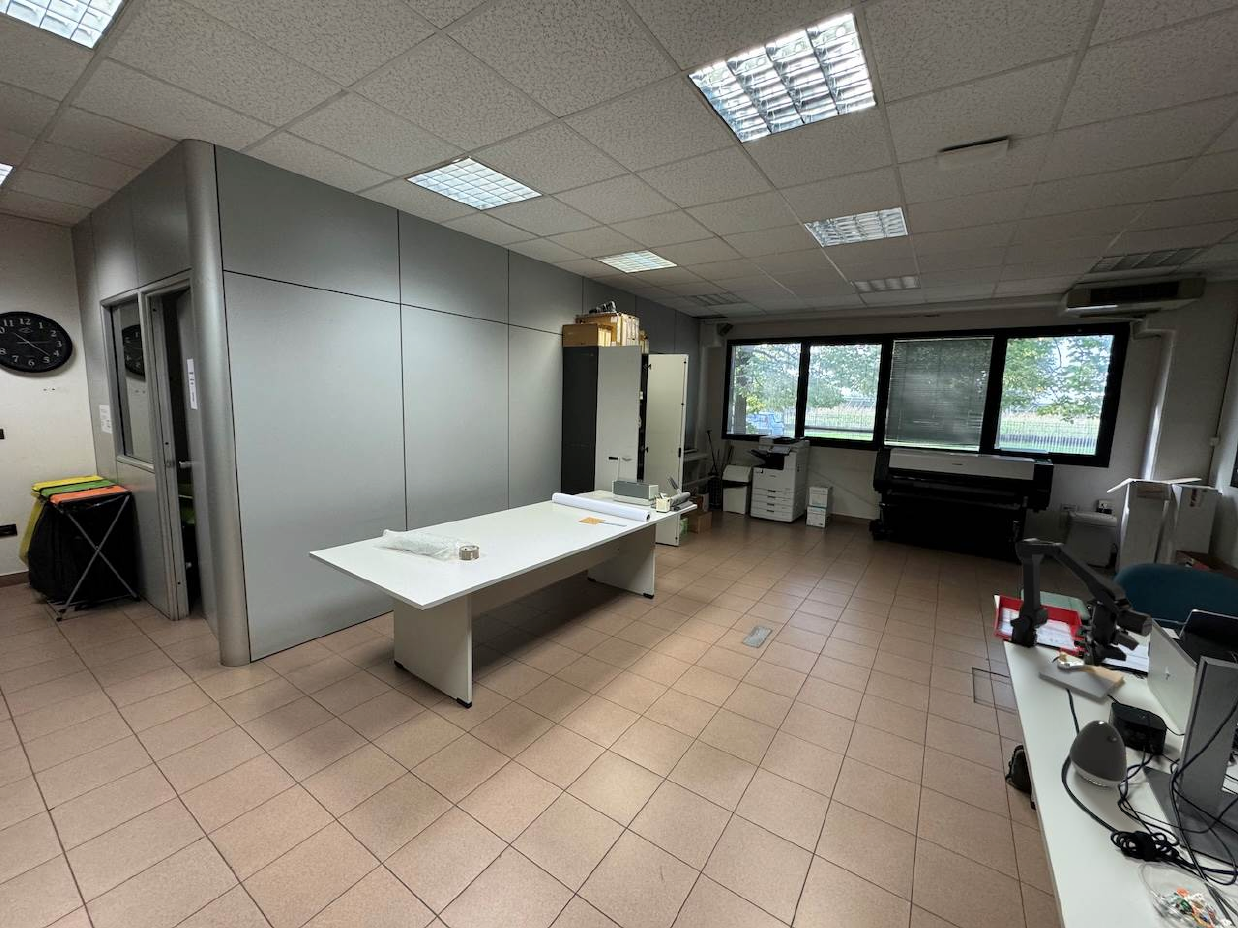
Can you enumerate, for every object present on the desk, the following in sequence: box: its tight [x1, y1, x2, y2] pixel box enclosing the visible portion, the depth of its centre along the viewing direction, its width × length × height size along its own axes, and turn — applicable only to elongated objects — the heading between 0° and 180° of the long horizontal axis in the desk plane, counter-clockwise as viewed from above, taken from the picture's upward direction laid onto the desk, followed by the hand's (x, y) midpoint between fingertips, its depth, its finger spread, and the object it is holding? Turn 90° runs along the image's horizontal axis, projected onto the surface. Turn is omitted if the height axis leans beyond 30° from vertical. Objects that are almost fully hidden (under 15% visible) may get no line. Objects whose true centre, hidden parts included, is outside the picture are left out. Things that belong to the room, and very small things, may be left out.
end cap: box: [1073, 632, 1107, 661], centre depth 175 cm, size 10×7×7 cm
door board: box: [1038, 651, 1125, 703], centre depth 162 cm, size 15×22×4 cm
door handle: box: [1057, 653, 1094, 670], centre depth 165 cm, size 12×3×4 cm, turn 94°
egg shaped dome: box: [1068, 720, 1128, 787], centre depth 121 cm, size 10×10×15 cm
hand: (1096, 666), depth 163 cm, fingers closed
